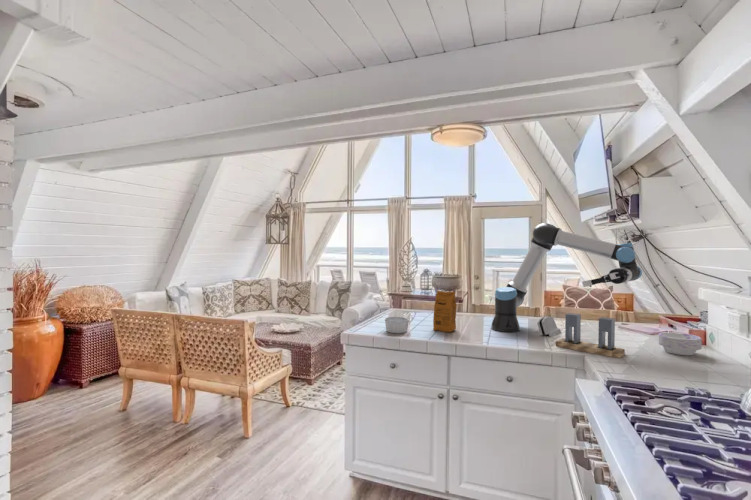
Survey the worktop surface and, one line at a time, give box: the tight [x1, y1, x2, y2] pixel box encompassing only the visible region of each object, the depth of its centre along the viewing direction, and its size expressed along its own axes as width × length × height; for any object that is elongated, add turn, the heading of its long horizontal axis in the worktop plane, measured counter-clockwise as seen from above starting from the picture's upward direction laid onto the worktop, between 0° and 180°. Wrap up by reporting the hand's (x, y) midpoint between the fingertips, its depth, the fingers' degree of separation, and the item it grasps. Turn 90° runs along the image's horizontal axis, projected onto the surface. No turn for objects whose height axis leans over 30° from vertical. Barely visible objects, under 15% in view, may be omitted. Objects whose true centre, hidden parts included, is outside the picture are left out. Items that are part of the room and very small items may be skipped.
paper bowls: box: [657, 331, 703, 356], centre depth 170 cm, size 15×15×8 cm
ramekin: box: [384, 316, 410, 334], centre depth 208 cm, size 13×13×7 cm
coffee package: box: [432, 290, 457, 333], centre depth 212 cm, size 10×12×22 cm
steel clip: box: [597, 316, 616, 351], centre depth 168 cm, size 5×5×16 cm
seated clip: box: [564, 312, 582, 344], centre depth 178 cm, size 5×5×16 cm
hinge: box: [537, 316, 562, 338], centre depth 207 cm, size 17×5×10 cm, turn 136°
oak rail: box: [555, 337, 626, 359], centre depth 173 cm, size 26×8×2 cm, turn 44°
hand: (596, 280), depth 178 cm, fingers open, 13 cm apart
